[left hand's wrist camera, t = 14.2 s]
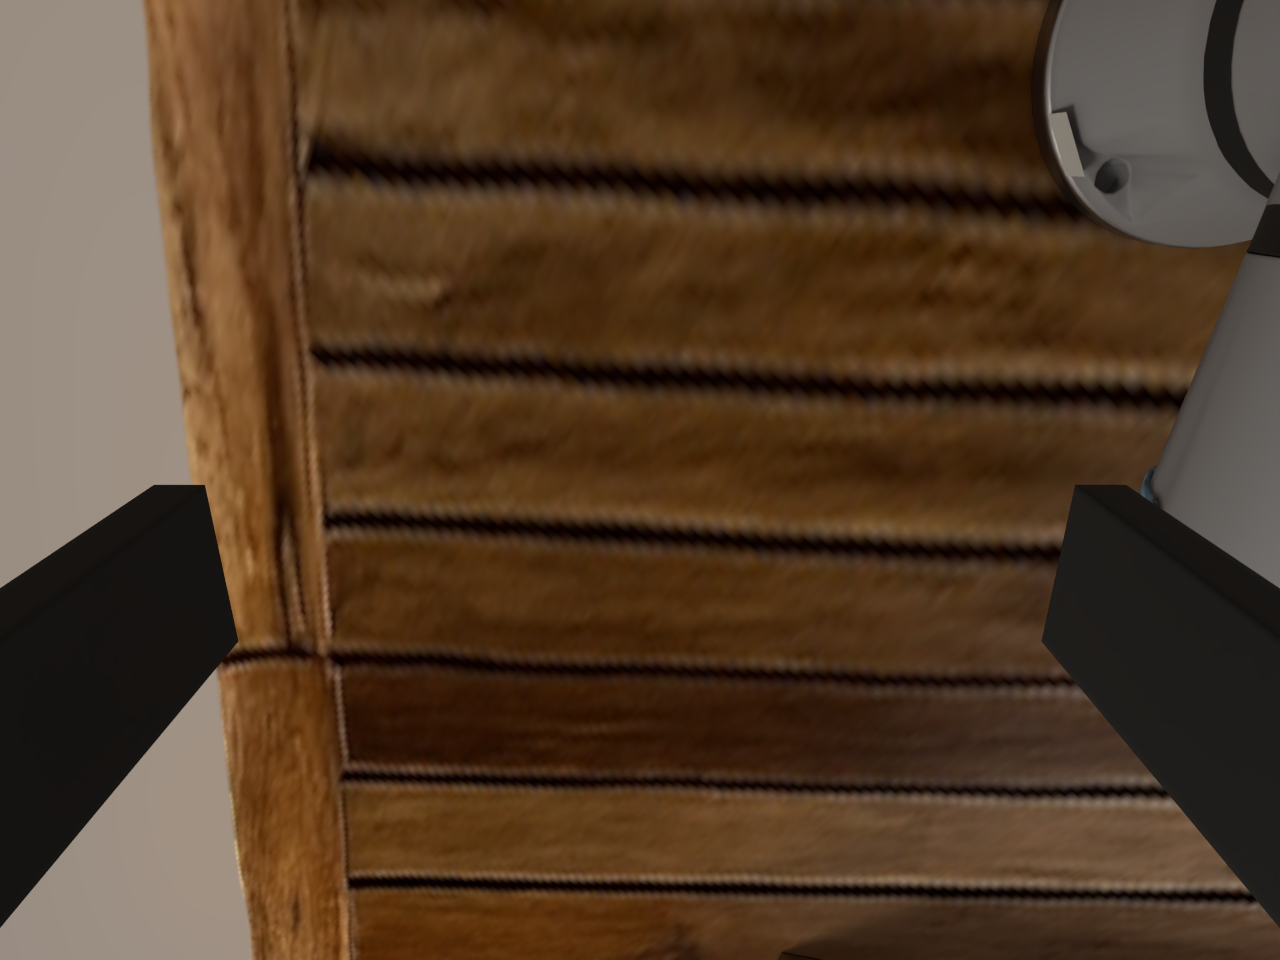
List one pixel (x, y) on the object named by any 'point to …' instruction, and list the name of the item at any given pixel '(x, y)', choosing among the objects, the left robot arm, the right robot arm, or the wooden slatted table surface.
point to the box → (792, 957)
